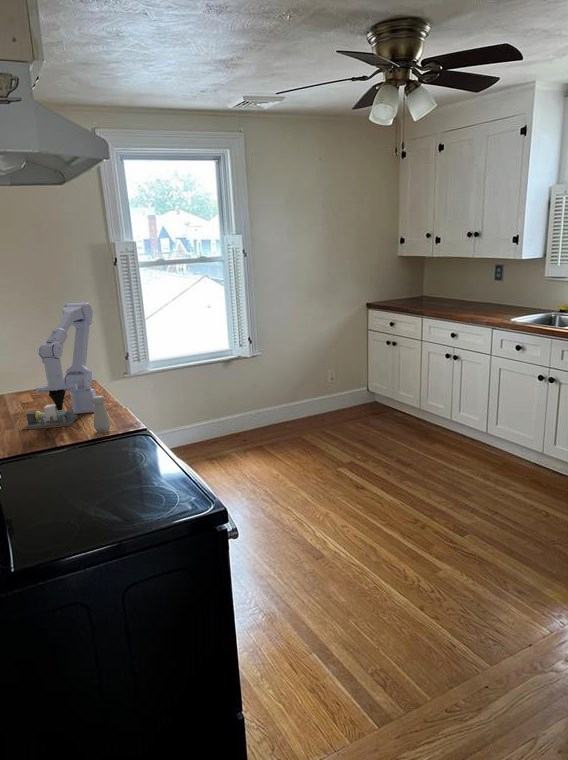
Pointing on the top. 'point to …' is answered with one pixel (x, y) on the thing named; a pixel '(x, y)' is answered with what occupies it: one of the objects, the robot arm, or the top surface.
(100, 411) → the salt shaker
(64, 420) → the rod slider bracket
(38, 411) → the yellow round puck
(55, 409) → the sleeve
